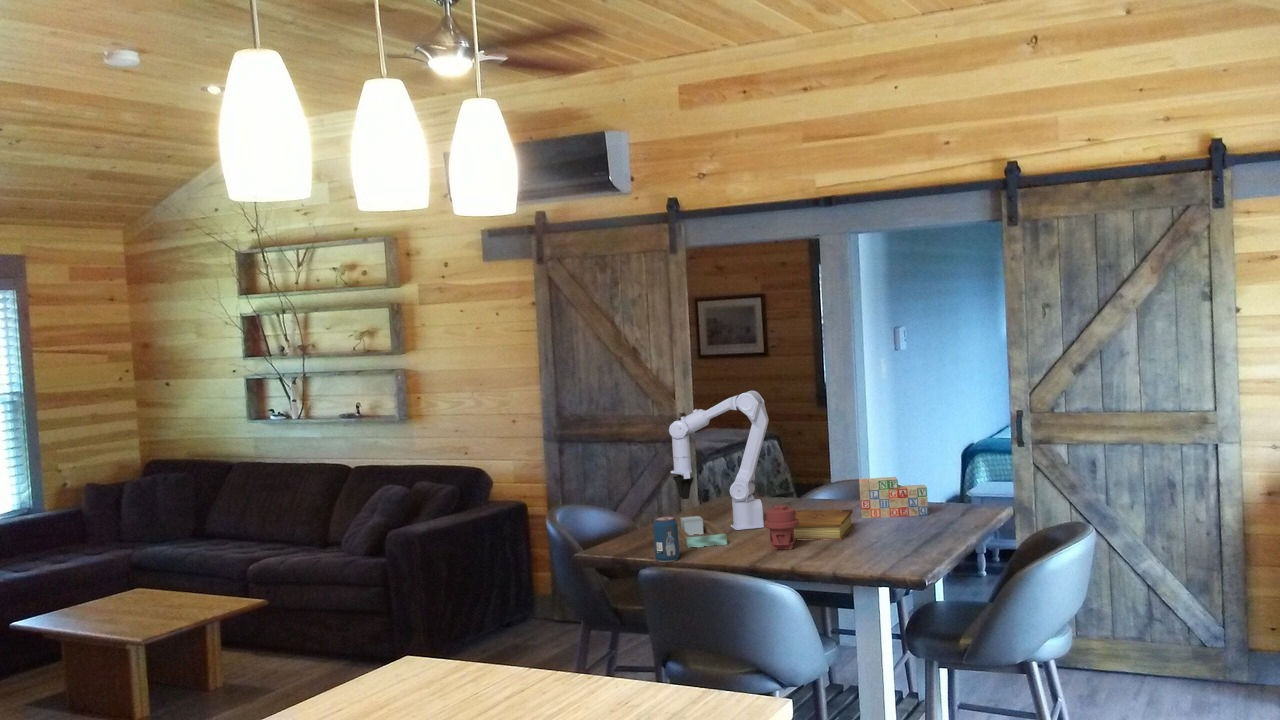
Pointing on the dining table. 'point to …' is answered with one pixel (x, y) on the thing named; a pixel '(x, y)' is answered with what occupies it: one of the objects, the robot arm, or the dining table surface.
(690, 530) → the box
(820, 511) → the diary
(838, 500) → the dining table surface
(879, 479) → the stack of blocks
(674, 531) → the soda can
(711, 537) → the bay
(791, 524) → the mechanical component
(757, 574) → the dining table surface
